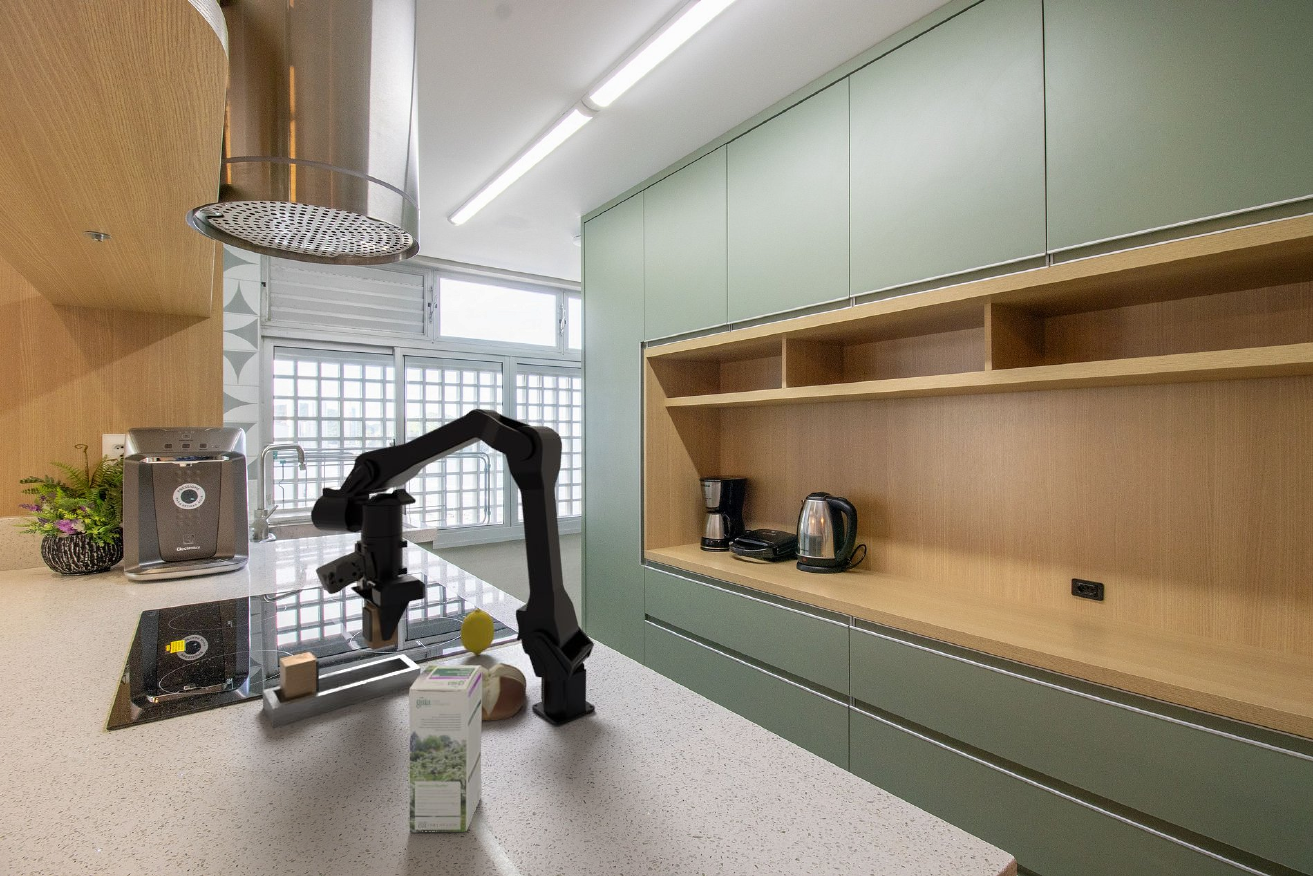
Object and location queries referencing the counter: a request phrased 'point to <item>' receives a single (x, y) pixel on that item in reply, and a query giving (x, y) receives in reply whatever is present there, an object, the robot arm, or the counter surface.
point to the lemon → (477, 631)
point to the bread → (502, 691)
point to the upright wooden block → (374, 629)
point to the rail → (332, 686)
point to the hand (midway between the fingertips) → (382, 636)
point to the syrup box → (445, 748)
